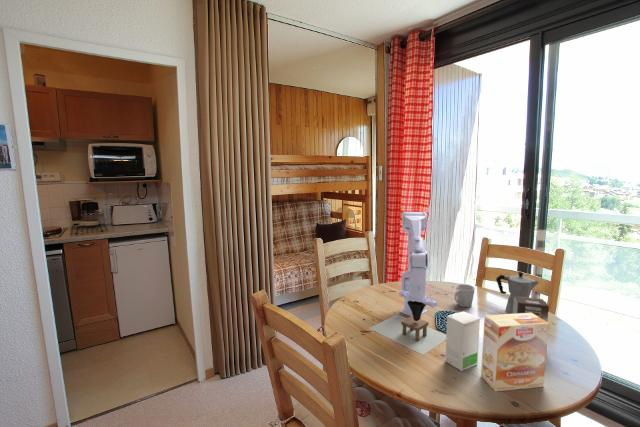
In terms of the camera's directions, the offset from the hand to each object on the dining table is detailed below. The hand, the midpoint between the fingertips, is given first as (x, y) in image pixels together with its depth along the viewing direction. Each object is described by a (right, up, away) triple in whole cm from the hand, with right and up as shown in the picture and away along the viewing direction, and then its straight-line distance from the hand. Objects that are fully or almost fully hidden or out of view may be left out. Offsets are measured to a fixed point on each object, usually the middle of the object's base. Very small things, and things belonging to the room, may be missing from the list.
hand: (416, 319), depth 116 cm
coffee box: (+38, -7, -5) cm, 39 cm away
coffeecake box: (+20, -10, -25) cm, 33 cm away
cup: (+29, -3, +27) cm, 40 cm away
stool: (-3, -3, +4) cm, 6 cm away
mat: (-2, -6, +4) cm, 7 cm away
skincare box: (+10, -9, -15) cm, 20 cm away
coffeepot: (+48, -3, +19) cm, 52 cm away
